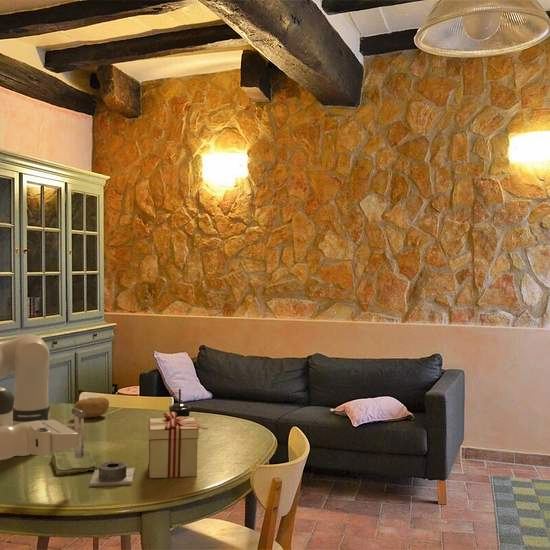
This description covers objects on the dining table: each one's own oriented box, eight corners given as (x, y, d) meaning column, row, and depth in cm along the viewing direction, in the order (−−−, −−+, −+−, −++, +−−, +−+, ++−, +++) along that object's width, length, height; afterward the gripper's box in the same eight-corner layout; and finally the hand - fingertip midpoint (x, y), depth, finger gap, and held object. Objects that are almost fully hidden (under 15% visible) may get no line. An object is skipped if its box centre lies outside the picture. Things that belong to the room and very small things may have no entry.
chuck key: (88, 459, 188) (88, 411, 187) (79, 461, 186) (79, 413, 186) (78, 453, 193) (78, 407, 193) (70, 455, 191) (70, 408, 191)
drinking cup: (194, 443, 233) (194, 387, 233) (183, 449, 226) (183, 392, 226) (176, 441, 237) (176, 386, 236) (164, 446, 230) (164, 390, 229)
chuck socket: (89, 486, 190) (89, 472, 190) (95, 472, 202) (94, 460, 202) (131, 484, 192) (131, 471, 192) (134, 471, 204) (134, 458, 204)
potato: (73, 416, 272) (72, 397, 272) (107, 413, 278) (107, 394, 278) (75, 421, 264) (75, 402, 263) (111, 418, 269) (111, 399, 269)
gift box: (210, 475, 200) (210, 419, 200) (149, 481, 195) (149, 424, 194) (201, 458, 216) (201, 407, 216) (144, 463, 211) (144, 410, 211)
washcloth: (55, 478, 198) (55, 468, 198) (49, 461, 214) (49, 451, 214) (99, 472, 204) (99, 462, 204) (90, 456, 220) (90, 447, 220)
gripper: (21, 440, 189) (68, 432, 198) (46, 457, 173) (96, 448, 182) (21, 418, 189) (68, 411, 198) (46, 433, 173) (96, 425, 182)
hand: (82, 429), depth 190 cm, fingers closed on chuck key, 3 cm apart
